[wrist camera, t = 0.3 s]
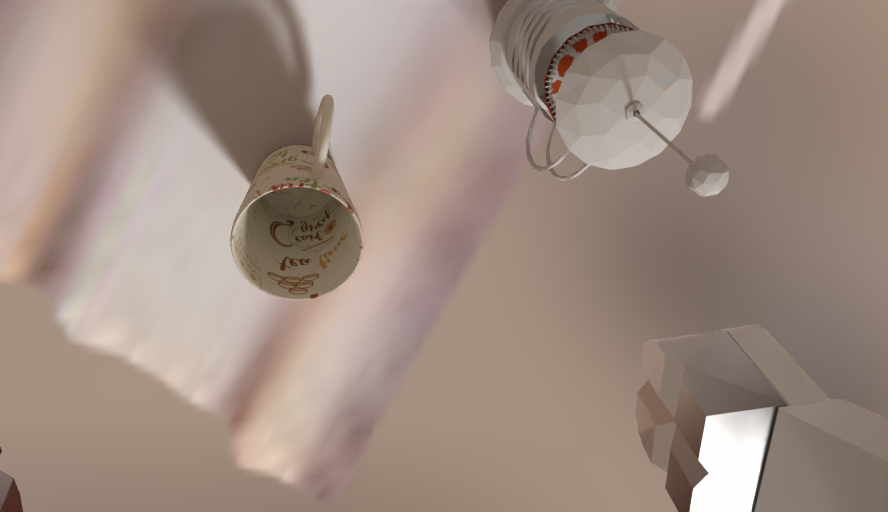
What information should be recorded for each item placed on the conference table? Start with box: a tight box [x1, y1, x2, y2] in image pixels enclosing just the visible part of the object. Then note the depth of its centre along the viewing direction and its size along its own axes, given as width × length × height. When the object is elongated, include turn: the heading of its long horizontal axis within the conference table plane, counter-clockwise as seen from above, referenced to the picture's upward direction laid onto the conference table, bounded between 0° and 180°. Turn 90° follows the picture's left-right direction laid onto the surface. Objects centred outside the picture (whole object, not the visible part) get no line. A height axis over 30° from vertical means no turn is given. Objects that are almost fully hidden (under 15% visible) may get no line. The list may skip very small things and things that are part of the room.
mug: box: [231, 95, 364, 300], centre depth 53 cm, size 8×13×10 cm, turn 163°
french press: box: [490, 0, 729, 196], centre depth 46 cm, size 10×12×25 cm
